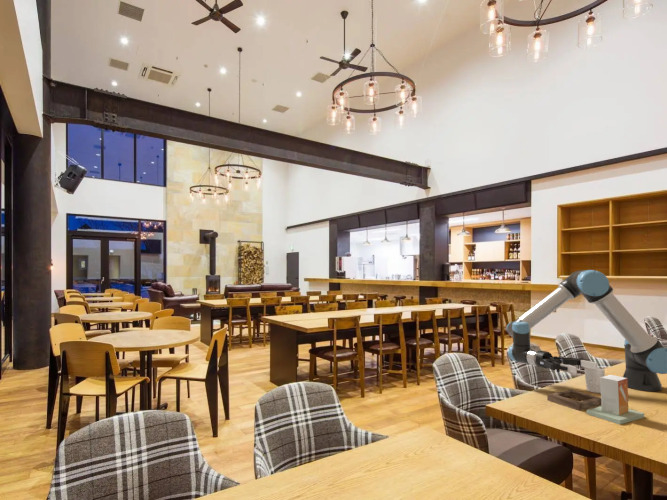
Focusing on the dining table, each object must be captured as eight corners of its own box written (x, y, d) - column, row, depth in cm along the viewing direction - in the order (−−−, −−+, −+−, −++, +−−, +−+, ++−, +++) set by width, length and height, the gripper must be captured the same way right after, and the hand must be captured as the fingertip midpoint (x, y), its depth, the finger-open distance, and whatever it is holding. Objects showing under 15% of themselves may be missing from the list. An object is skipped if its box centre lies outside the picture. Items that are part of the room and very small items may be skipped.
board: (611, 407, 161) (610, 403, 161) (644, 417, 150) (644, 413, 150) (586, 413, 154) (586, 409, 154) (619, 424, 143) (619, 420, 143)
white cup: (605, 390, 184) (604, 368, 185) (605, 394, 178) (605, 372, 178) (585, 387, 189) (584, 366, 189) (585, 391, 182) (584, 369, 182)
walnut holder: (571, 395, 177) (570, 389, 177) (603, 404, 165) (603, 398, 165) (547, 400, 170) (547, 394, 170) (579, 410, 158) (579, 404, 158)
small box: (619, 416, 148) (618, 381, 148) (601, 411, 153) (599, 377, 154) (629, 411, 152) (627, 377, 152) (610, 407, 157) (609, 374, 158)
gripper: (558, 363, 186) (605, 373, 167) (521, 370, 175) (567, 381, 156) (557, 347, 187) (604, 355, 167) (521, 353, 176) (566, 362, 157)
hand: (586, 368), depth 162 cm, fingers open, 13 cm apart
